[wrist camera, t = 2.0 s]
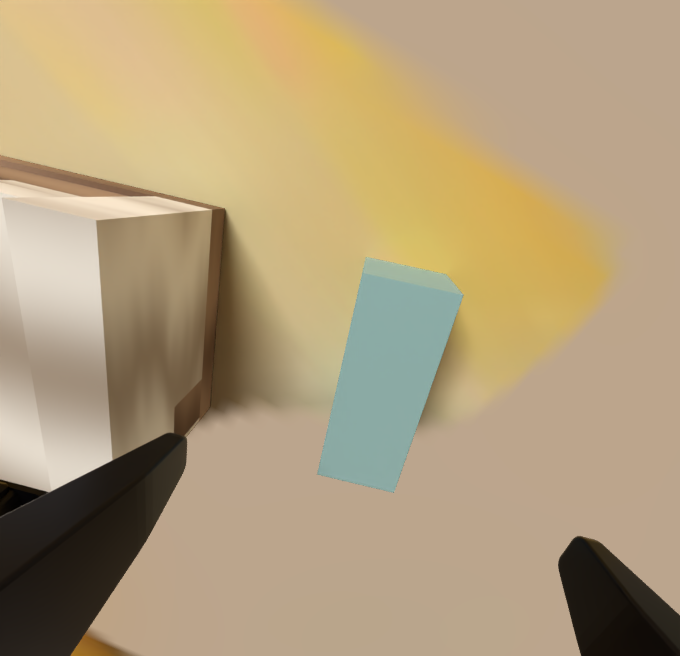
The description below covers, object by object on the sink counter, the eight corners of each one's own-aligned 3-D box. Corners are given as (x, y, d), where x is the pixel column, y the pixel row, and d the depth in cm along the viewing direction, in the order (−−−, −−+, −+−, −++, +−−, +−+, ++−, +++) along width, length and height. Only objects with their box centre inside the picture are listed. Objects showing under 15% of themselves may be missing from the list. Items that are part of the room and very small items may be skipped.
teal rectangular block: (391, 439, 16) (394, 492, 13) (328, 424, 16) (317, 474, 13) (444, 272, 12) (463, 295, 10) (366, 255, 13) (362, 273, 10)
